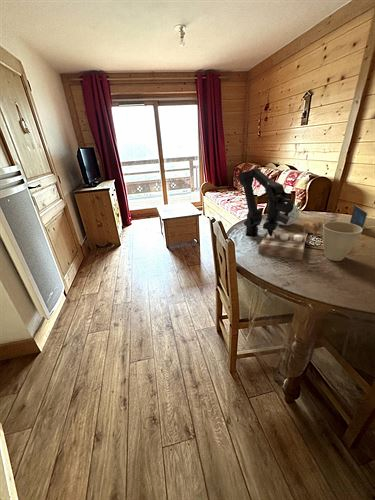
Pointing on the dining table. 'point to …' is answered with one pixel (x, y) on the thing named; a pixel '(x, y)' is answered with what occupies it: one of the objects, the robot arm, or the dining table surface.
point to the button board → (282, 246)
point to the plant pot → (339, 239)
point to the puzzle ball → (291, 216)
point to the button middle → (284, 236)
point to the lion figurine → (313, 227)
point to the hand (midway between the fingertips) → (270, 235)
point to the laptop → (358, 217)
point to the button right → (298, 238)
